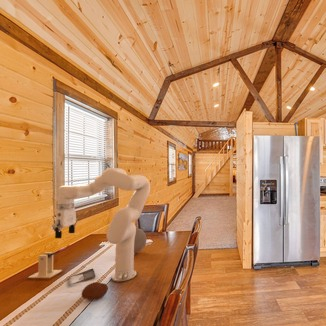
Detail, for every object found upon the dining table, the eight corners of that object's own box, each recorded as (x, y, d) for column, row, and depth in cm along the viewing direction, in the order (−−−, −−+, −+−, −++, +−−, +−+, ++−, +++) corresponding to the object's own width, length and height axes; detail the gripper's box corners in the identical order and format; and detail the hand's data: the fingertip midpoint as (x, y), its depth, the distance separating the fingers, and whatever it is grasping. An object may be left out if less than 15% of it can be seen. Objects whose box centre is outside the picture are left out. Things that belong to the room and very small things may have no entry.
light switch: (93, 271, 138) (69, 280, 130) (93, 268, 138) (68, 277, 130) (95, 278, 130) (69, 288, 122) (95, 274, 129) (69, 284, 122)
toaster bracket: (62, 272, 138) (62, 251, 138) (49, 279, 129) (49, 257, 129) (42, 272, 138) (42, 251, 138) (27, 279, 129) (28, 256, 129)
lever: (67, 249, 136) (65, 245, 136) (60, 252, 131) (58, 249, 131) (48, 258, 136) (46, 254, 136) (40, 261, 131) (39, 257, 131)
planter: (146, 250, 175) (146, 225, 176) (146, 253, 169) (146, 228, 169) (118, 253, 168) (119, 228, 168) (117, 257, 161) (117, 230, 162)
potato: (106, 300, 110) (106, 284, 110) (79, 306, 105) (79, 289, 105) (108, 291, 118) (108, 276, 118) (83, 296, 113) (83, 281, 113)
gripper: (60, 209, 127) (59, 240, 127) (83, 204, 144) (82, 231, 144) (46, 209, 127) (45, 240, 127) (71, 204, 144) (70, 231, 144)
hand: (65, 235), depth 135 cm, fingers open, 9 cm apart
